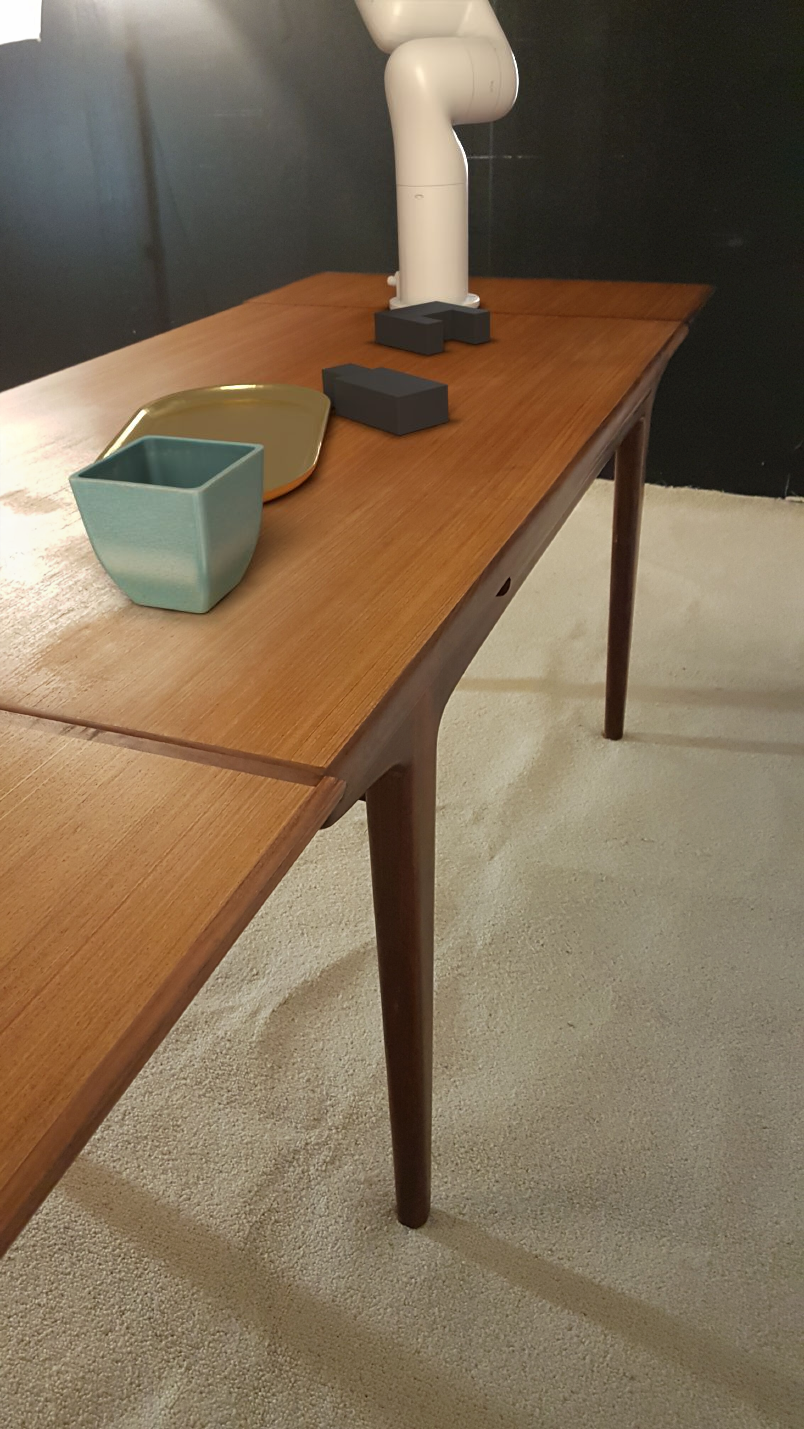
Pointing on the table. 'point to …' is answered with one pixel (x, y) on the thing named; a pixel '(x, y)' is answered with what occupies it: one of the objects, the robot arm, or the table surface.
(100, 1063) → the table surface
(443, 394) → the pad
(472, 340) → the notch pad
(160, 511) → the flower pot
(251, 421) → the serving platter
